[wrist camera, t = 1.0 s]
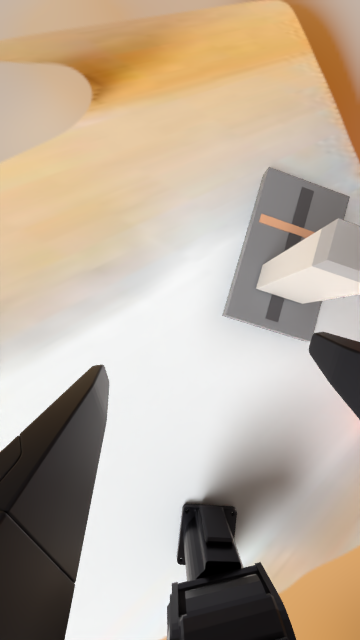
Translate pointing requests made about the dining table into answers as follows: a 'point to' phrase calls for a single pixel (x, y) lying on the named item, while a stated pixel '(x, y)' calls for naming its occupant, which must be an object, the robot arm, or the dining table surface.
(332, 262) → the fader handle
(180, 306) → the dining table surface
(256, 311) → the fader console
